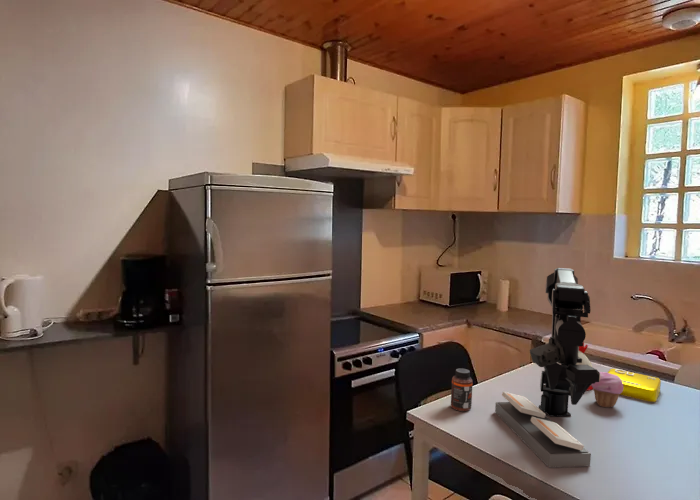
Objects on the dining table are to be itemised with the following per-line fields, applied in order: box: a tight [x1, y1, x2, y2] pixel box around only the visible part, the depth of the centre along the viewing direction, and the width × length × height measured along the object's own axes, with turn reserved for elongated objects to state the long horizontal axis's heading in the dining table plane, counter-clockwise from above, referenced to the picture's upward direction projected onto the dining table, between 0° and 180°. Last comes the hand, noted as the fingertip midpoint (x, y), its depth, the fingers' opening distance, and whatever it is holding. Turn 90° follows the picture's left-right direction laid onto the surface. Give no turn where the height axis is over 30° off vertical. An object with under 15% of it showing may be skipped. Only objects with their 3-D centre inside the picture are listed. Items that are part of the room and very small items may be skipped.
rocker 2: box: [531, 417, 585, 450], centre depth 105 cm, size 7×11×1 cm, turn 6°
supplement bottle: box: [450, 368, 474, 412], centre depth 129 cm, size 6×6×11 cm
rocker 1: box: [501, 390, 547, 418], centre depth 121 cm, size 7×11×1 cm, turn 7°
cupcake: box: [591, 371, 623, 408], centre depth 134 cm, size 9×9×10 cm
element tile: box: [606, 368, 662, 403], centre depth 147 cm, size 15×15×5 cm
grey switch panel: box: [494, 401, 592, 469], centre depth 114 cm, size 10×28×3 cm, turn 6°
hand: (562, 396), depth 110 cm, fingers open, 9 cm apart
